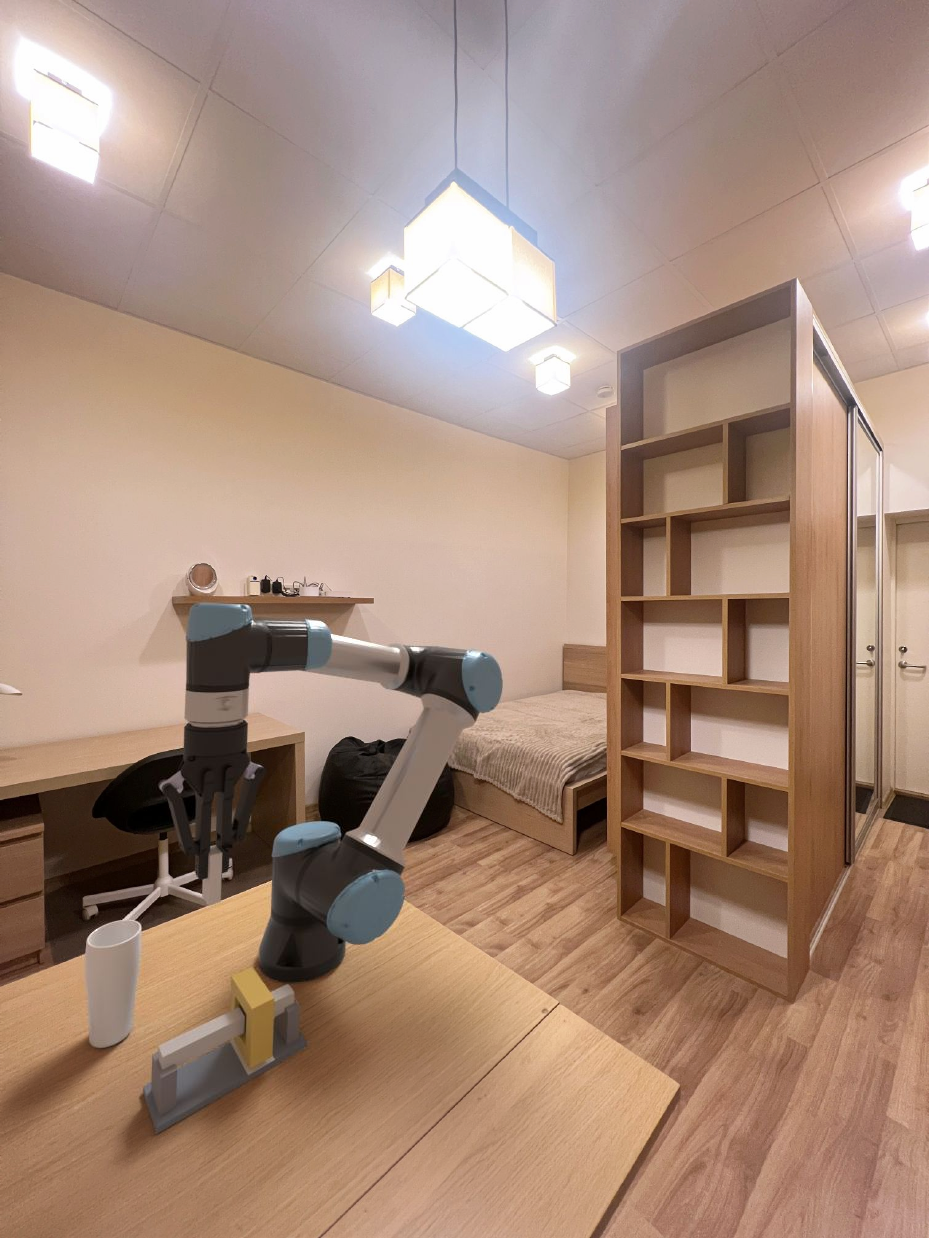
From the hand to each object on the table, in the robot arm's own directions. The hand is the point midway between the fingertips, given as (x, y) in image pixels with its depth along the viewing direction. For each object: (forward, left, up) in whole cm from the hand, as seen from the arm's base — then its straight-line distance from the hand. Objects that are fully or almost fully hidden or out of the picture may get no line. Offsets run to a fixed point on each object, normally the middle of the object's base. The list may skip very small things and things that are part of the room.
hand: (211, 899), depth 68 cm
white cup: (-16, -8, -25) cm, 31 cm away
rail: (0, +3, -24) cm, 25 cm away
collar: (0, +6, -22) cm, 23 cm away
